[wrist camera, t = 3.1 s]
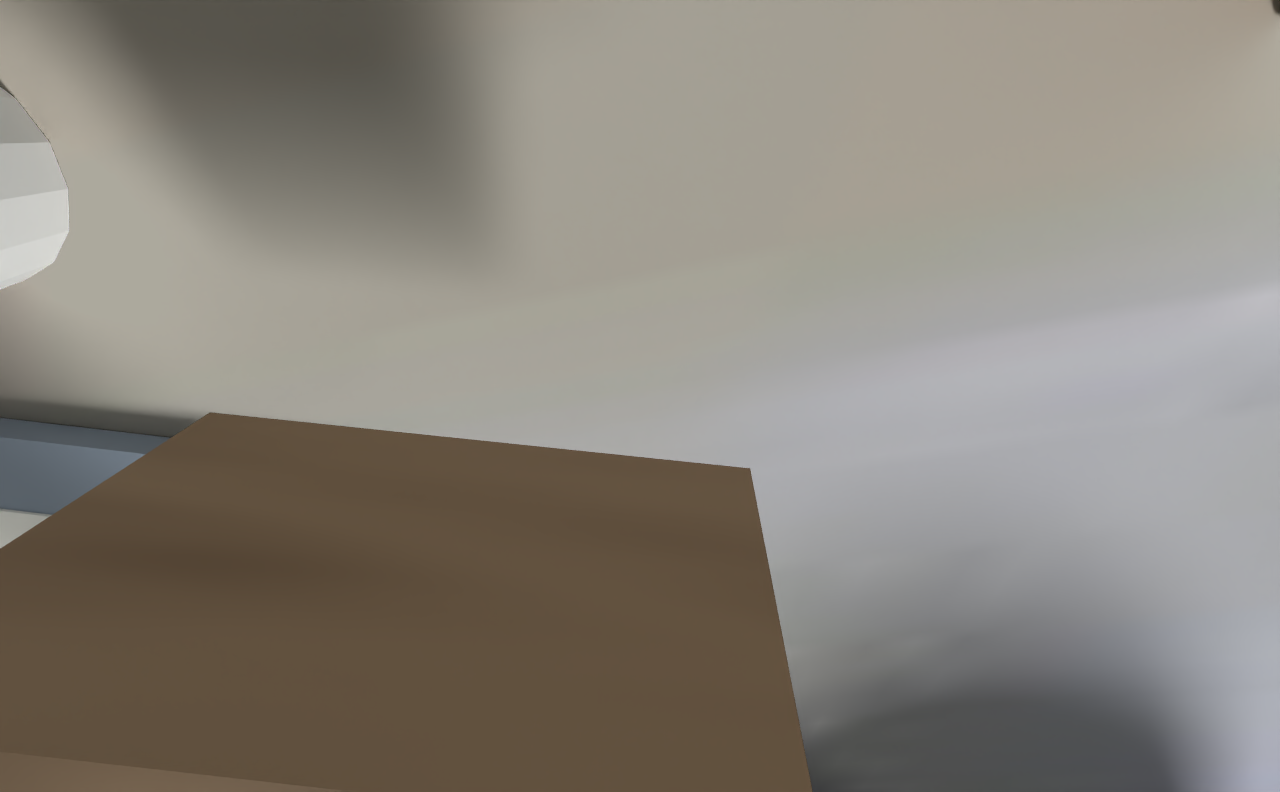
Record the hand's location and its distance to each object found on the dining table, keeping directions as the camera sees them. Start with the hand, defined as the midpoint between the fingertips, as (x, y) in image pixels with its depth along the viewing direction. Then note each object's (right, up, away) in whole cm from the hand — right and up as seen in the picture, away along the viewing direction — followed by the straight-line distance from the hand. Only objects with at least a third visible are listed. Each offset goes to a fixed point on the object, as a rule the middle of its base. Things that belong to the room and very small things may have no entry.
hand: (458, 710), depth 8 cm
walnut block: (0, 0, +1) cm, 1 cm away
